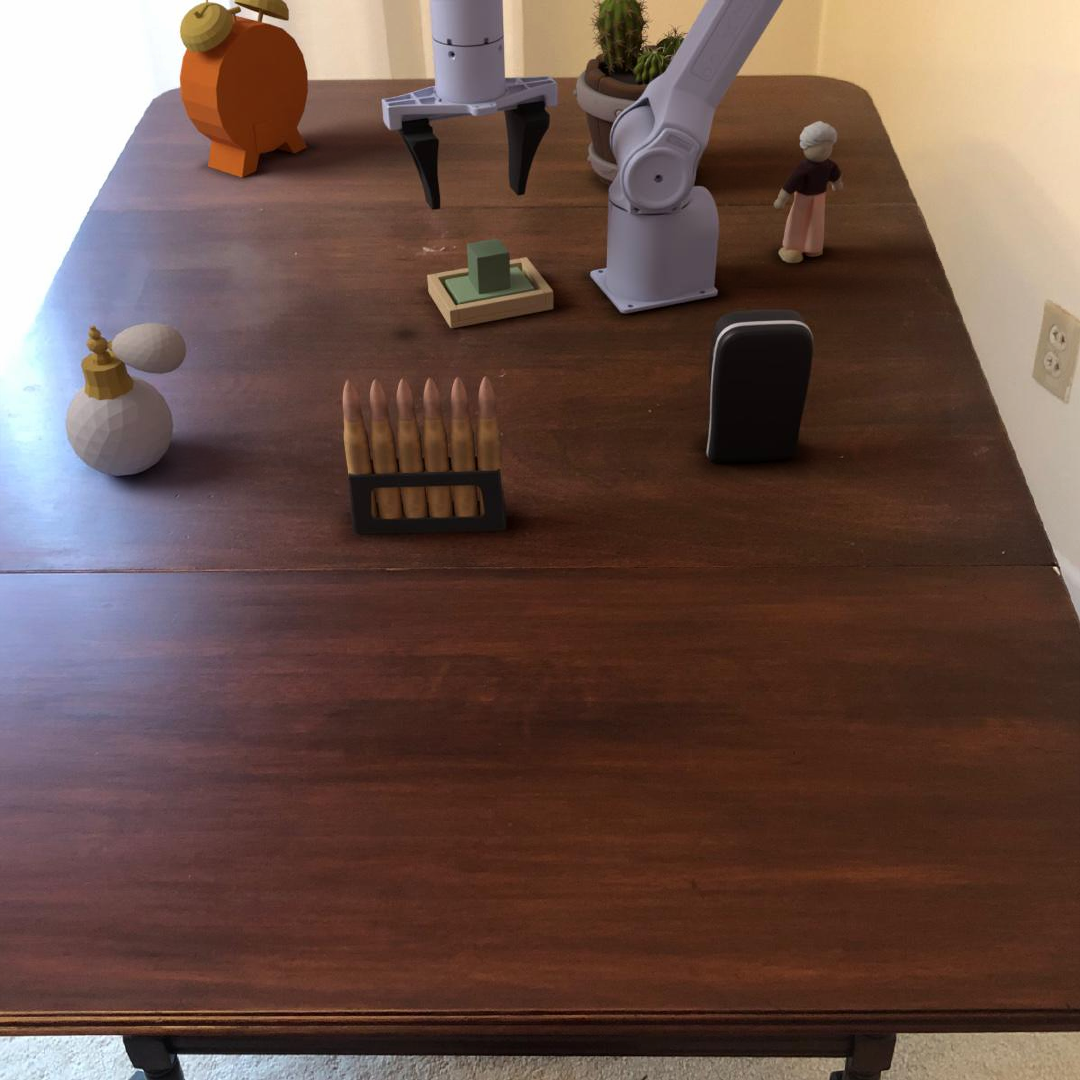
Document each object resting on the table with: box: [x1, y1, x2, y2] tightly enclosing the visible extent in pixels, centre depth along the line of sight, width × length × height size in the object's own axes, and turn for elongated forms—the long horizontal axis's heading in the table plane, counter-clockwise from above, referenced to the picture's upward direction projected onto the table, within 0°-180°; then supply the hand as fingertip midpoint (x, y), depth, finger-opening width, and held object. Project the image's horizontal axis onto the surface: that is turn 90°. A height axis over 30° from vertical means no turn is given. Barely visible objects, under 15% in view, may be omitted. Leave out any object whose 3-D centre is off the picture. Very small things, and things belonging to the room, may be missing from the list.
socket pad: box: [426, 256, 554, 330], centre depth 110 cm, size 10×7×2 cm
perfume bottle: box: [64, 322, 187, 477], centre depth 88 cm, size 8×10×12 cm
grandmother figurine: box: [773, 120, 844, 264], centre depth 113 cm, size 8×4×13 cm, turn 131°
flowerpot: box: [572, 0, 704, 188], centre depth 125 cm, size 14×15×20 cm
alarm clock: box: [179, 0, 309, 179], centre depth 130 cm, size 13×6×20 cm, turn 144°
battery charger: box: [705, 309, 814, 463], centre depth 89 cm, size 7×4×11 cm, turn 93°
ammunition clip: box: [342, 375, 507, 535], centre depth 82 cm, size 11×2×12 cm, turn 92°
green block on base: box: [445, 238, 534, 305], centre depth 109 cm, size 7×4×4 cm, turn 110°
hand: (475, 197), depth 106 cm, fingers open, 7 cm apart
